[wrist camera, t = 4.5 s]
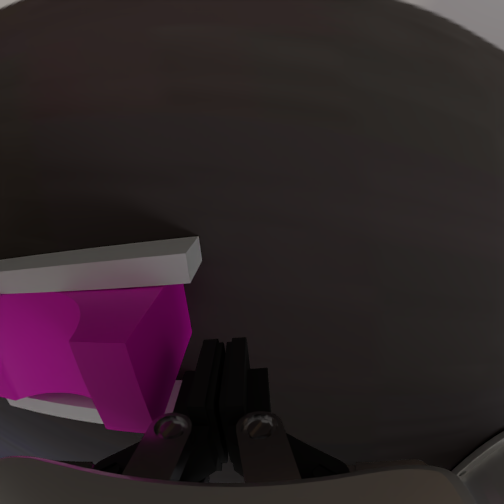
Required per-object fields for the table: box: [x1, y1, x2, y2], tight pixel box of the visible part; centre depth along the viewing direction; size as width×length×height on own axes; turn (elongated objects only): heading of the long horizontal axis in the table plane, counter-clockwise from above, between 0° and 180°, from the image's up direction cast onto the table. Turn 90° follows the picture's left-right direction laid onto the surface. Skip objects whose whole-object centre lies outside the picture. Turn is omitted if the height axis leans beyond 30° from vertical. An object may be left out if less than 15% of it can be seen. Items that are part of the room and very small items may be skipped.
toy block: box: [0, 284, 192, 433], centre depth 13 cm, size 15×6×8 cm, turn 95°
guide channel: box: [0, 236, 202, 424], centre depth 15 cm, size 9×15×3 cm, turn 95°
